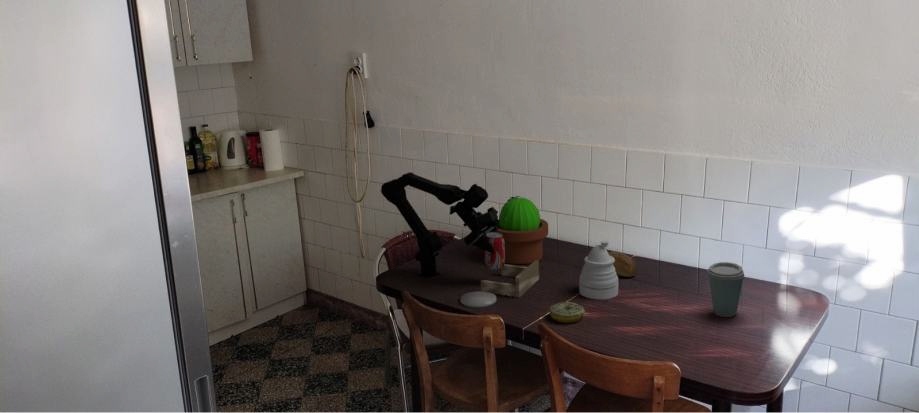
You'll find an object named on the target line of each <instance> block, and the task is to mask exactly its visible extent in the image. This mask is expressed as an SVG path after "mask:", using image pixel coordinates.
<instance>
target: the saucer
mask: <svg viewBox="0 0 919 413" xmlns="http://www.w3.org/2000/svg"><path fill="white" fill-rule="evenodd" d="M496 302H497V296H496V294H492V293H490V292H484V291H481V290H479V291H477V290H476V291H471V292H470V291H469V292H467V293H464V294H462V295H461V297H460V303H461V304H462V305H464V306H466V307H470V308H485V307H489V306H492V305H494V304H495V303H496Z"/></svg>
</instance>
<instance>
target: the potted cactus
mask: <svg viewBox="0 0 919 413" xmlns="http://www.w3.org/2000/svg"><path fill="white" fill-rule="evenodd" d="M541 217H542V216H541V215H540V211H539V209H538V206H536V205H535V202H534V201H531V200H530V199H529V198H527V197H523V196H520V195H515V196H511V197H509V199H507V201H506V202H505V203H504V204H503V205H502V207H500V212H499V215H498V220H499V221H500V223H499V224H497V225H499V226H498V230H497V232H499V233H502V236H503V238H504V244H505V263H504V264H508V265H527V264H529V265H531V264H532V263H533V262H534V261H535V260H538V261H539V262H540V261H541V260H542V259H543V257H544V256H543V255H544V254H543V252H544V251H543V248H544V247H543V246H544V245H543V239H545V238H546V237H548V235H549V223H548V221H546V220H545V219H543V218H541ZM497 225H496V226H497Z"/></svg>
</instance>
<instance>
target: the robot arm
mask: <svg viewBox="0 0 919 413" xmlns="http://www.w3.org/2000/svg"><path fill="white" fill-rule="evenodd" d="M408 186H409V187H412V188H415V189H416V190H419V191H422V192H424V193H427V194H429V195H432V196H434V197H435V198H436V199H437V200H438V201H440V202H441V203H443V204H444V205H447V206H450V207H449V215H451V216H452V215H454V214H455V213H456V215H457V216H458V217H459V218H460V219H461V221H463V224H462V225H463V226H464V227H467V228H468V229H469V230H470V231H471V232H469V234H467V235H466V236H465V237H464V238H463V240H464V244H465V245H466V246H467V247H469V246H470V245H471V246H474V247H477V248H479V249H482V250H483V251H485V250H486V251H488V252H490V253H492V254H493V253H494V252H495V251H494V249H493V248H492V246H491V245H490V244H489V242H488V241H487V239H486V234H487V233H490V232H497V230H498V226H499V225H497V224H499V223H500V221H499V215H498V212H499V211H498V210H497V209H496V208H495V207H494V206H491V207H489V208H487V211H486V212H484V213H482V212H481V211H476V210H475V209H478V208H479V207H480V206H481V205H482V204H483V203H484V202H485V201H486V200H487V199H489V193H488V192H487V190H486V189H485V188H483V187H482V186H479V185H478V184H477V183H473V184H471V186H470V188H469V189H468V190H465V189H462V188H460V186H458V185H453V184H448V183H447V184H446V183H444V184H443V183H439V182H436V181H433V180H431V179H428V178H426V177H424V176H423V177H422V176H420V175H418V174H415V173H414V172H410V171H409V172H406V173H404V174H402V175H401V176H399V177H398V178H394V179H390V180H388V181H387V182H386V181H385V182H384V183H382V185H381V188H380V193H381V195H382V197H384V198H385V199H386V201H388V202H389V203H391V204H392V205H394V206H395V207H396V209H397V211H399V213H400V214H401V216H402V217H403V219H404V221H405V222H406V224H407V225H408V226H409V228H410V230H411V231H412V233H413V235H415V237H416V242H417V247H418V249H419V251H418V252H416V254H414V257H415V260H416V262H419V267H420V268H419V270H418V271H417V272H416V274H417V275H420V276H422V277H424V278H430V277H432V276H436V275H440V274H441V272H440V271H438V270H437V260H436V259H437V258H436V257H438V256H439V254H440V252H441V251H442V249H443V243H442V242H443V241H442V238H441V237H440V236H439V235H438V233H437V232H436V231H430V230H429V229H428V228H427V227H426V225H425V223H424V222H423V221H422V219H421V218H420V217H419V214H418V213H417V211H416V210H415V208H414V207H413V206H412V204H411V202H409V200H408V197H407V191H406V189H405V188H406V187H408ZM455 203H456V204H455ZM453 204H455V205H453ZM496 225H497V226H496Z"/></svg>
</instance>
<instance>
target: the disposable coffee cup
mask: <svg viewBox="0 0 919 413" xmlns="http://www.w3.org/2000/svg"><path fill="white" fill-rule="evenodd" d="M706 273H707V276H708V281H709V288H710V294H711V303H712V310H713V312H714V315H716V316H718V317H723V318H729V317H730V318H732V317H734V316H735V315H736V313H738V307H739V301H740V297H741V290H742V287H743V282H744V277H745V272H744V269H743V267H742V266H741V265H739V264H737V263H734V262H729V261H727V262H726V261H724V262H723V261H720V262H715V263H713V264H711V265H710V266H709V268H708V269H707V271H706Z"/></svg>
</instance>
